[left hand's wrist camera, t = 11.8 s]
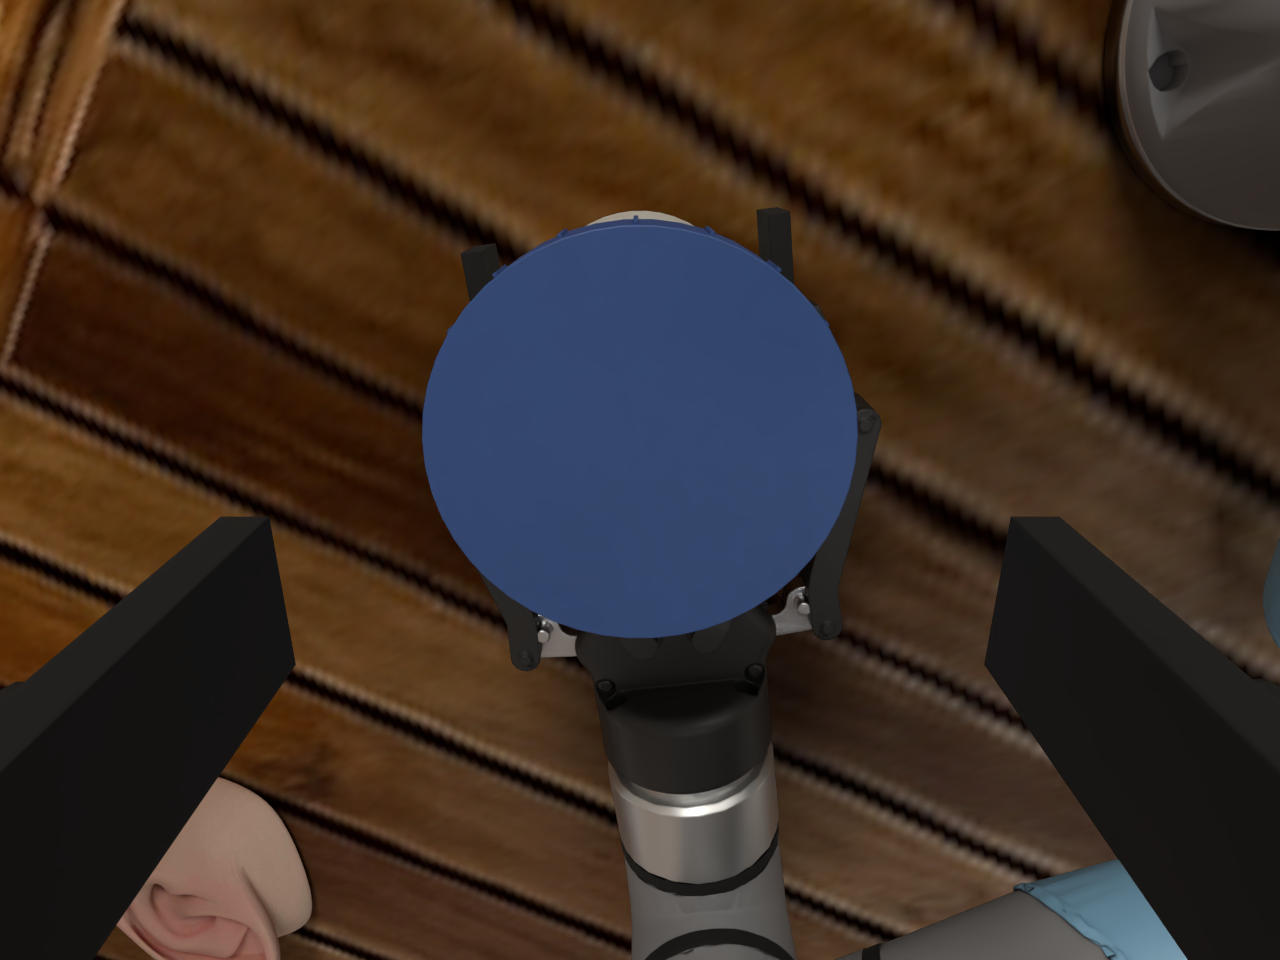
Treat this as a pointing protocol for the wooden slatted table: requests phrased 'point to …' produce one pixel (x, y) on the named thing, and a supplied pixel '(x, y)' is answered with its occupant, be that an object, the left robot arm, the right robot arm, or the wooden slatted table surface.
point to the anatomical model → (223, 884)
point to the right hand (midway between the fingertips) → (624, 229)
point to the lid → (639, 429)
